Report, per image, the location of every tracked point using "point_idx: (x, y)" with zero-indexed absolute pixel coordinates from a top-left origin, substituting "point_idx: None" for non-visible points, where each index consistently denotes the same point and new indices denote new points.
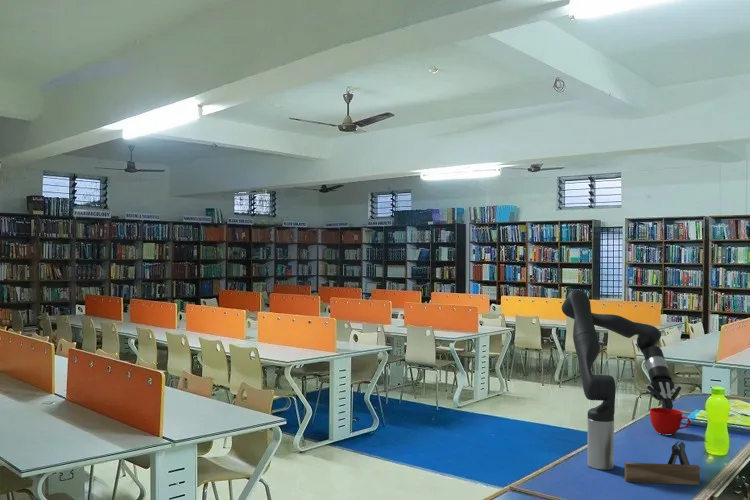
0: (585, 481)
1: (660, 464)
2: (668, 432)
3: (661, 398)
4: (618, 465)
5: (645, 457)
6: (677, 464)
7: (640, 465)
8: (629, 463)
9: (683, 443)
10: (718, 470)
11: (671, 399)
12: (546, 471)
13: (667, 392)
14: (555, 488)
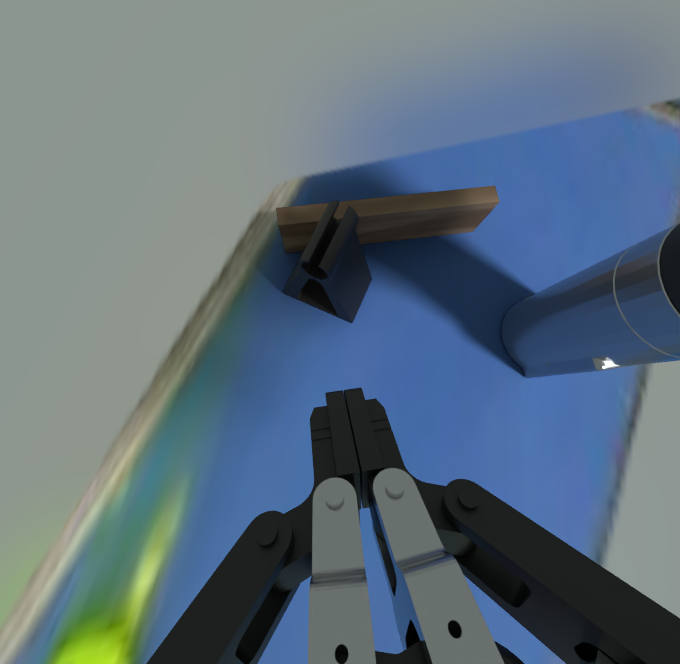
0: (564, 198)
1: (394, 205)
2: None
3: (428, 486)
4: (487, 360)
5: None
6: (341, 217)
7: (453, 191)
8: (485, 193)
9: (305, 252)
10: (179, 396)
11: (310, 499)
12: None
13: (362, 573)
14: (619, 139)
